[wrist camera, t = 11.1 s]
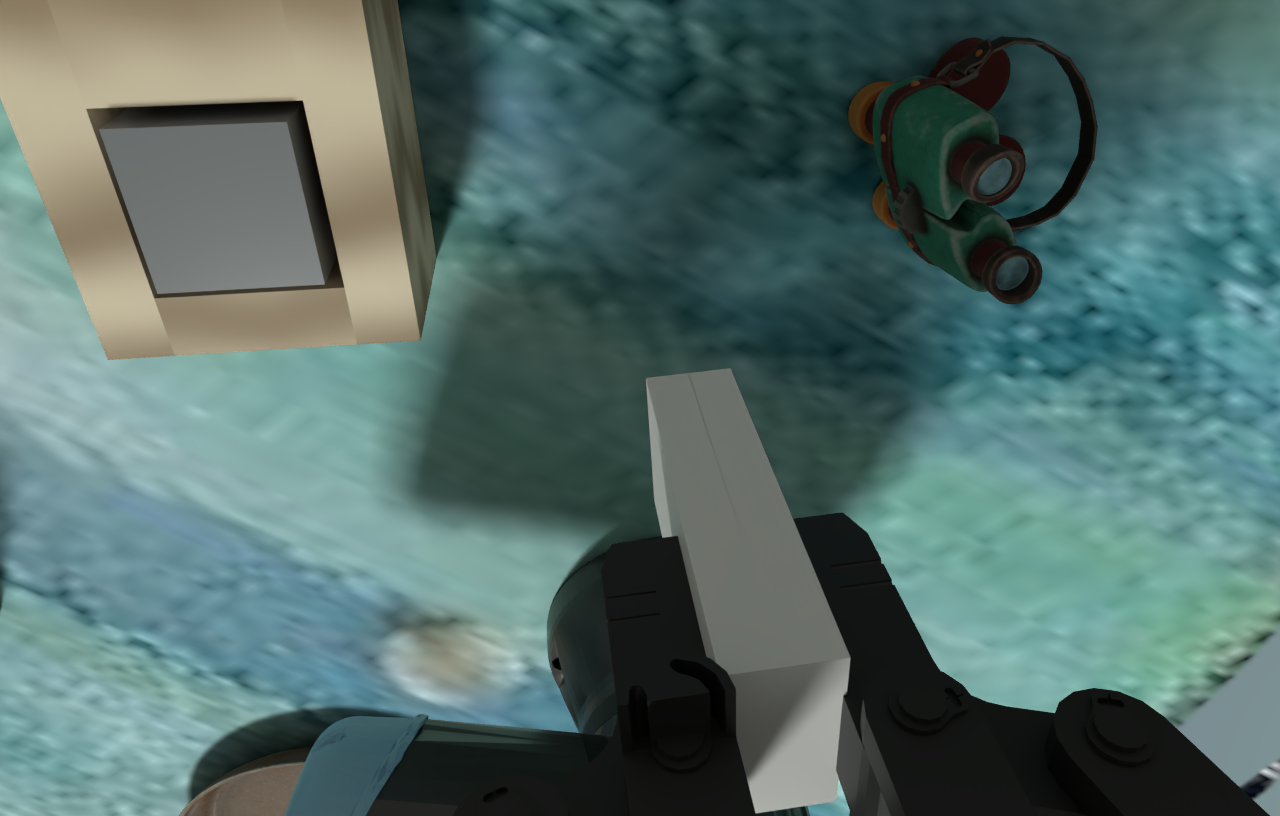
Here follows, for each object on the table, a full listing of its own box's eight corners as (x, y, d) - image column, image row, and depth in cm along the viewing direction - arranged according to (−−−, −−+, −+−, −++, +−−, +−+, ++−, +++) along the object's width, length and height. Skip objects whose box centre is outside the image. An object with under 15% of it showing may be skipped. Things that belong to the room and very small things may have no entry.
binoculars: (1204, 241, 35) (973, 351, 35) (1046, 164, 43) (863, 254, 44) (1196, 19, 30) (927, 152, 30) (1020, -17, 38) (813, 87, 39)
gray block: (358, 205, 39) (325, 284, 33) (219, 212, 39) (157, 293, 32) (330, 65, 36) (286, 121, 29) (178, 70, 35) (98, 129, 29)
